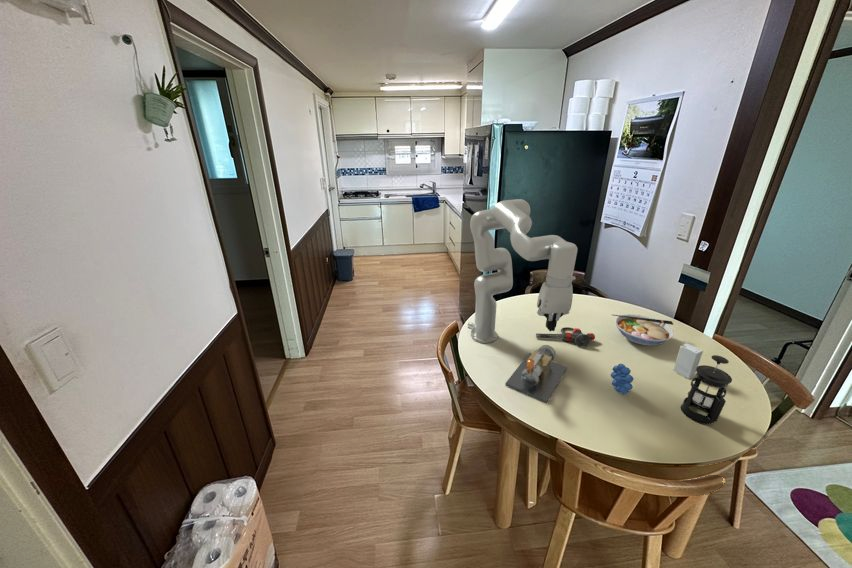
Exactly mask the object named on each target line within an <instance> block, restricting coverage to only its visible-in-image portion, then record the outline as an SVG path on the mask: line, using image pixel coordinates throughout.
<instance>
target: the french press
mask: <svg viewBox="0 0 852 568" xmlns="http://www.w3.org/2000/svg"><path fill="white" fill-rule="evenodd" d="M711 359H712V360H713V361H715V362H716V366H712V365H704V364H703V365H698V367H697V368H696V373H695V376H696V377H695V376H694V377H692V378H691V382H690V386H691V388H690V390H689V391H688V393H687V397H685V398H684V399H683V402H682V404H681V405H680V411H681V413H683V415H684V416H686V418H688V419H689V420H691V421H693V422H696V423H699V424H701V425H712V424H713V423H715V422H717V421H718V419H719V418H720V415H721V413H722V411H723V409H724V407H725V404H726V399H725V397H726V395H727V387H728V386H729V385H730V384H731V383H732V382H733V378H732V377H731V376H730V375H729V373H728V372H725V371H724V370H722V369H720V368H719V365H721V364H724V365H725V364H726V365H727V364H729V360H728V359H727V358H726V357H724V356H721V355H718V354H717V355H715V354H714V355H711ZM701 382H702V384H705V385H707V387H706V390H705V391H703V390H702V389H700V388H699V387H700V385H701ZM710 387H713V388H716V389H717V388H718V389H717V392H716V394H711V393H709V392H708V391H709V389H710ZM690 406H691V407H696V408H697V407H698V408H699V409H701V410H703V411H705V412H706V415H705V414H702V413H698V412H696V411H694V410H693V409H691V408H690Z"/></svg>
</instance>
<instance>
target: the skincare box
mask: <svg viewBox="0 0 852 568" xmlns="http://www.w3.org/2000/svg"><path fill="white" fill-rule="evenodd" d="M703 353H704V350H702V349H700V348H698V347H695V346H694V345H692V344H689V343H684V344H681V345H680V347H679V350H678V354H677V355H676V356H677V357H676V359H675V364H674V366H673V369H672V371H673V372H675V373H677V374H679V375H681V376H682V377H684V378H686V379H688V380H690V379H693V378H695V376H696V373H697V371H696V368H697V367H698V366H699V364H700V361H701V358H702V355H703Z"/></svg>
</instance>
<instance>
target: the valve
mask: <svg viewBox="0 0 852 568" xmlns="http://www.w3.org/2000/svg"><path fill="white" fill-rule="evenodd" d="M564 330H568V331H569V330H570V331H572V332H564ZM560 332H561V333H535V337H536V338H542V339H561V340H562V341H564V342H571V341H572V342H573V341H574V342H575V343H574V344H575V345H576V346H577V347H580V348H586V347H588V346H589V345H590V344H591V341H594V340H596V335H595V334H594V333H592V332H587V333H586V334H585V333H583V332H582V329H580V328H576V327H575V328H573V327H566V326H565V327H561V329H560Z"/></svg>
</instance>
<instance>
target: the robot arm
mask: <svg viewBox="0 0 852 568" xmlns="http://www.w3.org/2000/svg"><path fill="white" fill-rule="evenodd" d="M530 215H531V207H530V204H529V202H528V201H526V200H524V199H523V198H518V199H516V198H515V199H506V200H501V201H499V202H497V203H495V205H494V206H493V207H492V208H490V209H482V210H479V211H476V212H475V213H473V214H472V216H471V218H470V222H469V226H470V232H471V235H472V239H473V242H474V243H473V244H474V255H475V256H474V257H475V264H476V268H477V270H478V271H479V272H484V273H485V272H490V273H486V274H482V275H478V276H477V277H476V279H474V282H473V284H474V292H475V305H474V306H475V311H474V312H475V313H474V323H473V322H470V321H469V322H468V323H467V329H470V330H471V333H470V337H471V339H472V340H474V341H476V342H477V343H481V344H489V343H490V344H491V343H493V342H495V341H497V339H498V333H497V331H496V318H497V317H496V316H497V304H498V303H497V301H496V299H495V298H494V297H493V296H494V295H499V294H502V293H507V292H509V291H510V290H511V289H512V288H513V284H514V279H513V278H514V277H513V275H514V274H513V262H512V256H511V253H510V252H509V250H508V249H507V248H505V247H497V248H495V239H494V237H493V235H492V234H491V233H490V231H494V230H502V229H506V230H507V232H508V233H510V235H509V237H510V239H509V240H510V244H511V246H512V248H513V250H514V251H515V252H516V253H517V254H518V255H519V256H520V257H521V258H522V259H524V260H525V261H528V262H536V261H540V260H541V261H542V260H548V266H547V273H546V277H545V278H546V279H545V281H544V282H543V283H542V285H541V287H540V290H539V293H538V297H537V302H536V307H537V308H538V309H537V311H536V313H537V315H538V316H540V317H545V318H546V320H545V328H547V330H548V331H549V332H555V330H556V328H557V324H558V321H560V318H562V317H563V316H566V315H569V314H570V311H571V309H572V305H573V297H574V295H573V294H574V292H573V290H574V289H573V284H572V282H574V281H576V276H573V274H574V270H575V265H576V260H577V256H578V255H577V254H578V247H577V245H576V244H575V243H573V242H569V241H567V240H565V239H564V238H562V237H561V236H559V235H555V234H549V235H542V236H534V237H530V236H528V235H527V234H528V233H529V232H530V230H531V227H532V225H533V221H532V218H531V217H530ZM492 271H497V272H492ZM491 272H492V273H491Z"/></svg>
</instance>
